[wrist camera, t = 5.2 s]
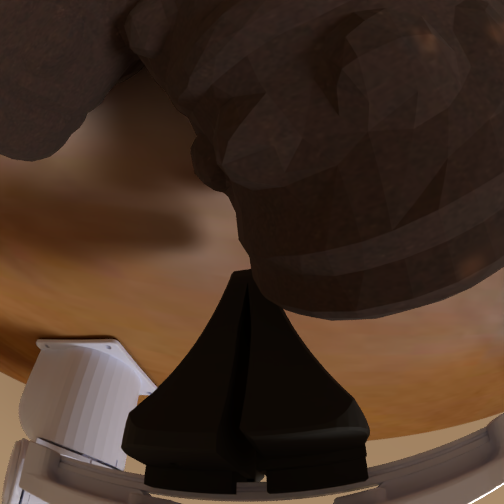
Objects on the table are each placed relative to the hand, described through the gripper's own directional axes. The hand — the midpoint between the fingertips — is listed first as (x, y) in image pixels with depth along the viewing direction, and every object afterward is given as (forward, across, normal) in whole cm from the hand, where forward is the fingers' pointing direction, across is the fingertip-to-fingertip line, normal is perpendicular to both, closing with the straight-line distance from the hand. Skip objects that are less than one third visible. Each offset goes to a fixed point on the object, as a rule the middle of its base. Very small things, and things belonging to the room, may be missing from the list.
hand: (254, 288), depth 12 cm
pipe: (+4, -1, -10) cm, 11 cm away
